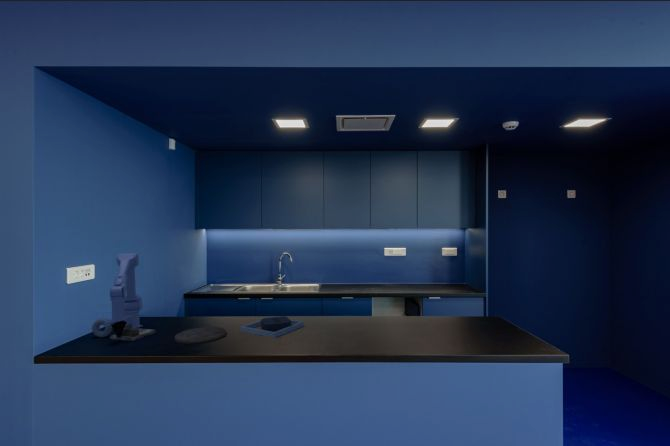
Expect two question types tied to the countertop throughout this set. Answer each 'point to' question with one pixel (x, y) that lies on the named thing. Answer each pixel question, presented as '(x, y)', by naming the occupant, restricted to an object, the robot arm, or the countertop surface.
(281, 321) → the streaming box
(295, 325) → the tray
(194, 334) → the trivet
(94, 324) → the donut
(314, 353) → the countertop surface
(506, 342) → the countertop surface
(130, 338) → the stool seat
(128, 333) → the stool leg
